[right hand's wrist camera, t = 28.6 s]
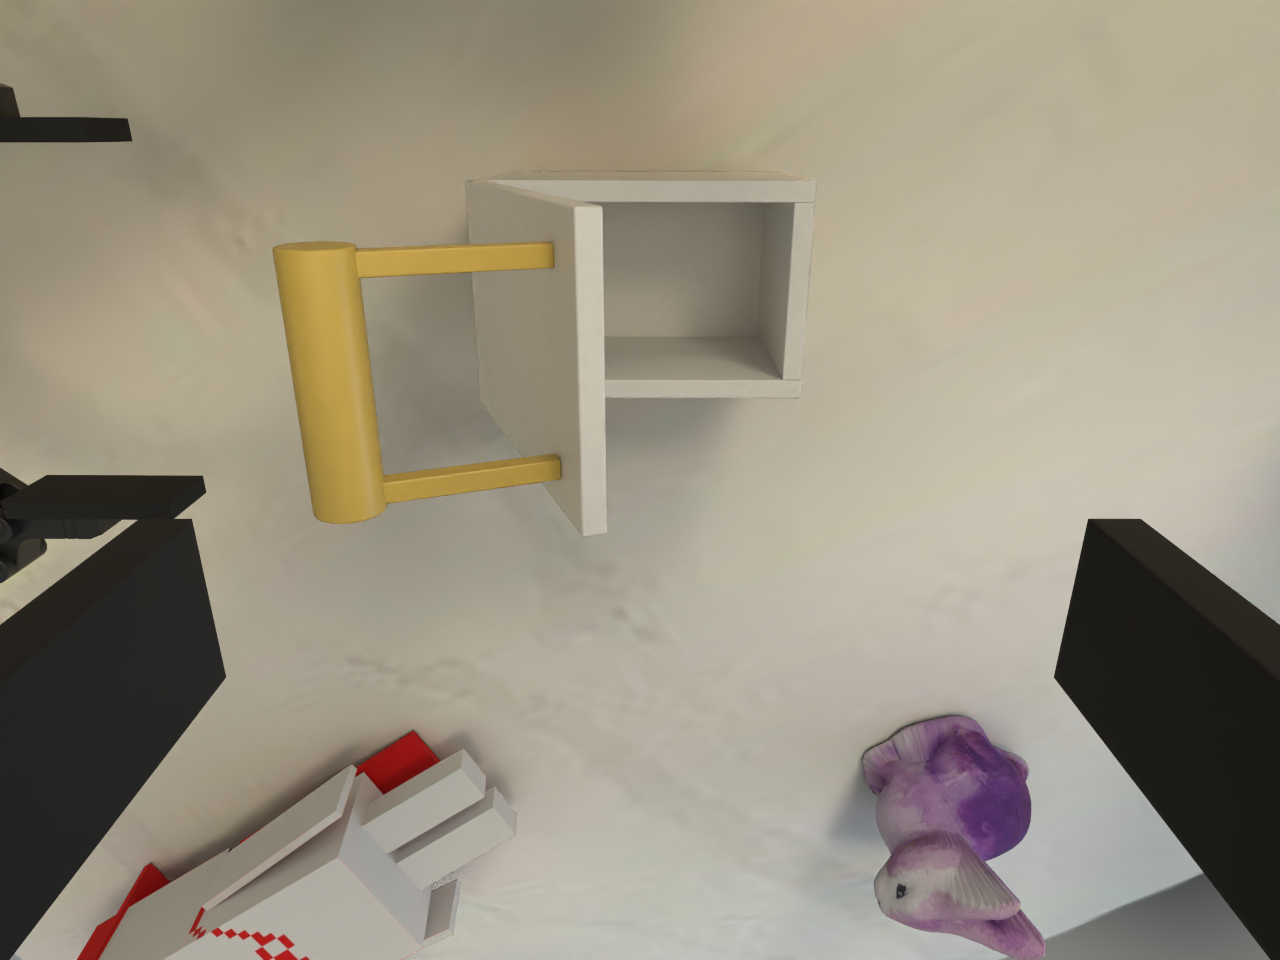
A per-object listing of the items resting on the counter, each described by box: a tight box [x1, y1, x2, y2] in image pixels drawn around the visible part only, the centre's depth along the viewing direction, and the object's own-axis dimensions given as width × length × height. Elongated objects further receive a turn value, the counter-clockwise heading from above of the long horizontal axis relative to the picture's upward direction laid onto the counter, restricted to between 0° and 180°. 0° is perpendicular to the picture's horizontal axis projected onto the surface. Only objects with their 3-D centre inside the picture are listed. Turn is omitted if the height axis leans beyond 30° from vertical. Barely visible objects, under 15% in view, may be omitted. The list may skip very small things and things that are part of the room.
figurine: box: [863, 715, 1046, 960], centre depth 53 cm, size 9×10×15 cm
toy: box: [77, 731, 516, 960], centre depth 58 cm, size 12×13×30 cm
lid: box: [273, 180, 607, 537], centre depth 29 cm, size 15×10×8 cm
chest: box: [479, 171, 817, 398], centre depth 42 cm, size 14×10×10 cm, turn 90°
